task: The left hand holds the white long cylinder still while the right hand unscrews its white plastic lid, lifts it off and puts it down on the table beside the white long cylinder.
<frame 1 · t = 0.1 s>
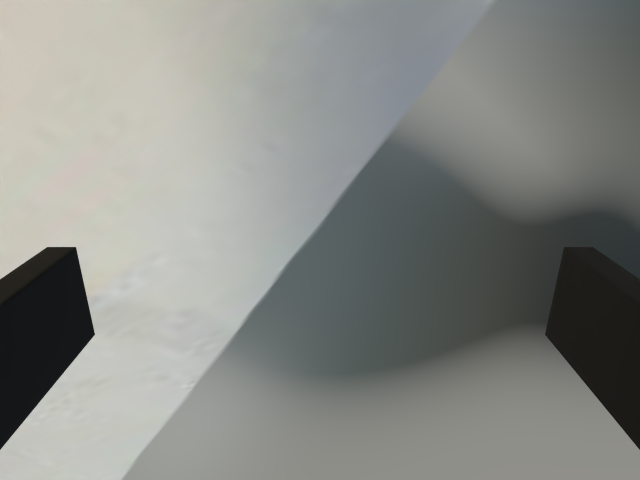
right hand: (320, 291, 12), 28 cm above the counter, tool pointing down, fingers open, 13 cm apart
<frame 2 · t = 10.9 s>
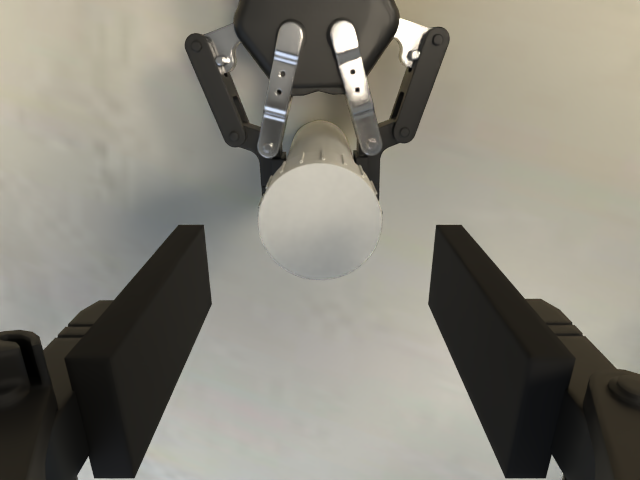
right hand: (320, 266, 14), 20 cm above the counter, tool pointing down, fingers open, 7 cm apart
left hand: (321, 213, 27), fingers closed on white long cylinder, 4 cm apart
white long cylinder: (320, 149, 32), on the counter, touching left hand
lid: (319, 221, 18), point 16 cm above the counter, screwed on, not yet turned
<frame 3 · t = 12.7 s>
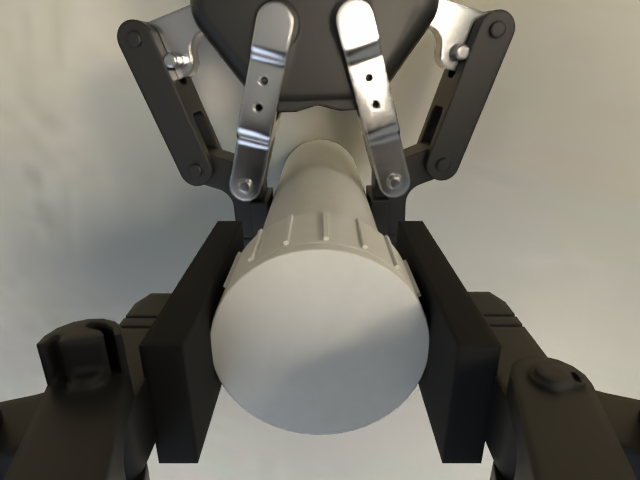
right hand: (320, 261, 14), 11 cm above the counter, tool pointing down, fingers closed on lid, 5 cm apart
left hand: (322, 273, 20), fingers closed on white long cylinder, 4 cm apart
white long cylinder: (320, 176, 25), on the counter, touching left hand
lid: (319, 341, 10), point 16 cm above the counter, screwed on, not yet turned, touching right hand
when the right hand's fingers open (11 cm above the counter, at t = 14.0 s): lid stays where it is, point 16 cm above the counter.
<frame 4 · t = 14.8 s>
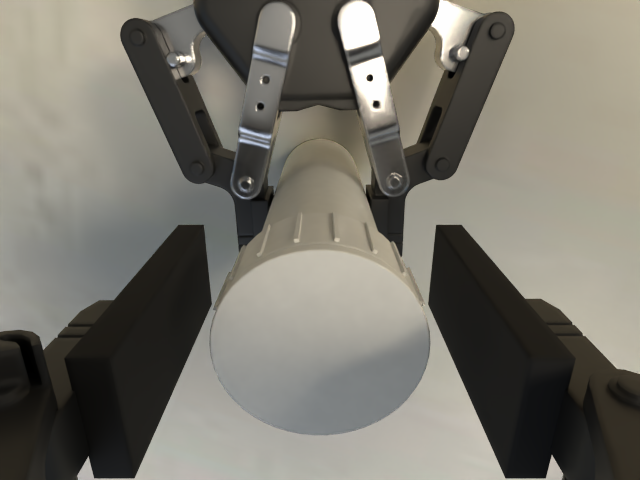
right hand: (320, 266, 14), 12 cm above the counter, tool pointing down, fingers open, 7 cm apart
left hand: (321, 271, 20), fingers closed on white long cylinder, 4 cm apart
white long cylinder: (320, 175, 25), on the counter, touching left hand
lid: (319, 342, 10), point 16 cm above the counter, turned 75° so far, risen 0.2 cm, still on its thread
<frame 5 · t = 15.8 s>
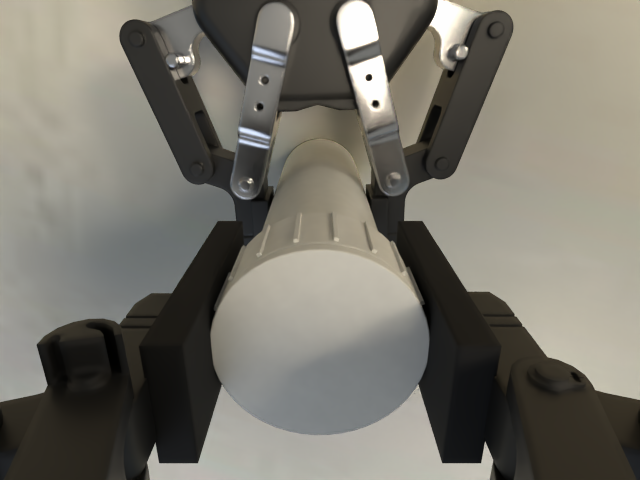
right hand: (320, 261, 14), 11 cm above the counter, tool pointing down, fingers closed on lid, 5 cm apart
left hand: (322, 271, 20), fingers closed on white long cylinder, 4 cm apart
white long cylinder: (320, 175, 25), on the counter, touching left hand
lid: (319, 341, 10), point 16 cm above the counter, turned 75° so far, risen 0.2 cm, still on its thread, touching right hand
when the right hand's fingers open (0 cm above the counter, at t = 22.4 s): lid drops 2 cm, point 2 cm above the counter.
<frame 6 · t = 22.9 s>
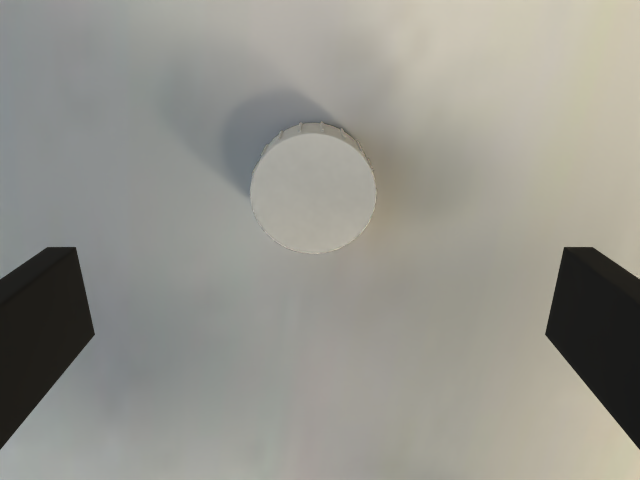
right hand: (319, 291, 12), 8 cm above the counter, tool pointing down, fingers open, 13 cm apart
lid: (313, 194, 18), point 2 cm above the counter, off its thread
when the left hand's fingers open (6 cm above the counter, at t = 23.0 s): white long cylinder stays where it is, on the counter.
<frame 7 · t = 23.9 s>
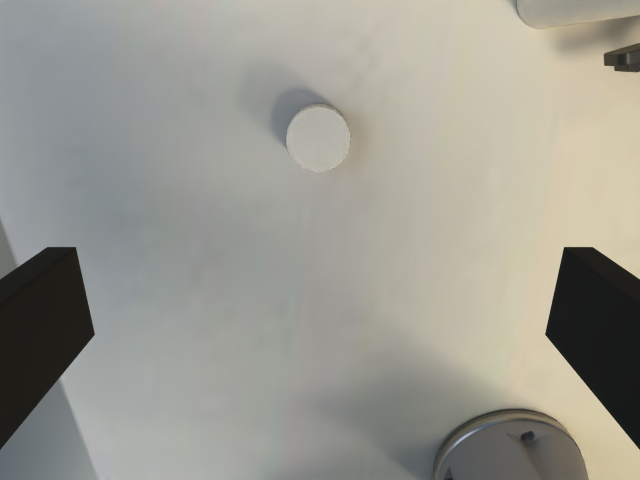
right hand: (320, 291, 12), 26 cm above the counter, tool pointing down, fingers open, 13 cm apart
lid: (318, 139, 34), point 2 cm above the counter, off its thread
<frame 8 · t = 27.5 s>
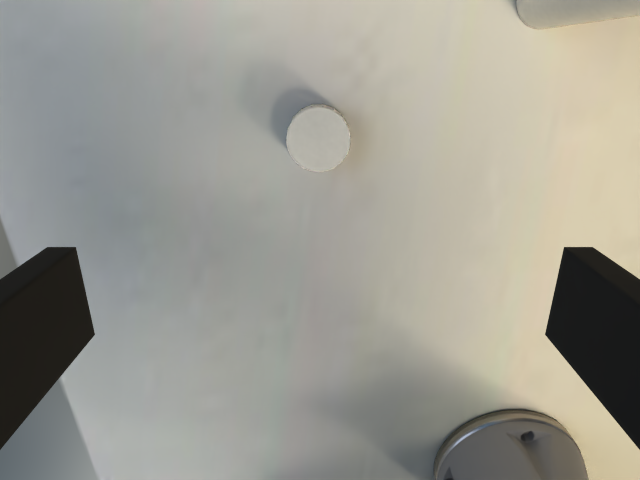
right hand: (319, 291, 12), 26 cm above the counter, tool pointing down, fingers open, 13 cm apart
lid: (318, 139, 34), point 2 cm above the counter, off its thread
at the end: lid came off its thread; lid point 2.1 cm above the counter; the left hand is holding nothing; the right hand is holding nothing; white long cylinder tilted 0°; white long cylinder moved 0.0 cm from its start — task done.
